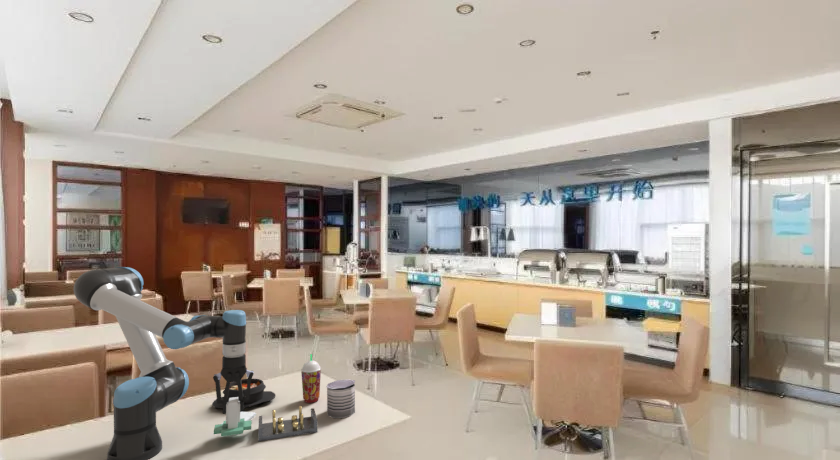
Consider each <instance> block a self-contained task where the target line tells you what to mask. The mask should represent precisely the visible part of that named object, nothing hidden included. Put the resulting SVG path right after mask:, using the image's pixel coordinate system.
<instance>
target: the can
mask: <svg viewBox="0 0 840 460" xmlns="http://www.w3.org/2000/svg"><path fill="white" fill-rule="evenodd" d="M355 383H356V380H354V379H349V378H346V379H337V380H334V381H332V382H329V383H327V384H326V390H327V391H326V398H327V399H326V406H327V407H326V409H327V410H326V413H327V417H330V418H333V419H344V418H349V417H351V416H353V414H355V413H356V385H355Z"/></svg>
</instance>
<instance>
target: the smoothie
mask: <svg viewBox="0 0 840 460" xmlns="http://www.w3.org/2000/svg"><path fill="white" fill-rule="evenodd" d="M309 354H310V355H309V356H310V357H309V358H310V359H309V360H308V361H307V360H306V361H305V363H304V364H303V366H302V367H301V370H300V372H301V383H302V384H301V386H302V399H303V400H304V402H305V403H306V404H312V403H316V402H317V401H319V398H320V392H321V391H320V390H321V378H322V377H321V373H322V367H321V366H320V364H319V362H318V361H316V360H313V354H311V353H309Z"/></svg>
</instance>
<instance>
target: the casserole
mask: <svg viewBox="0 0 840 460" xmlns="http://www.w3.org/2000/svg"><path fill="white" fill-rule="evenodd" d="M247 380H248V378H244V379H241V382H242V389H243V395H244V397H245V396H246V390H247ZM266 387H267V386H266V384H265V383H264V381H263V380H262V379H260V378H259V379H258V378H252V379H251V386H250V396H249V400H248V401H245V402H244V409H247V408H251V407H254V406H257V405H260V404H262V403H263V404H264V403H268V402H270V401H273V400H274V399H276V393H275V392H274V391H271V390H268V391H267V390H265V389H266ZM224 393H225V388H224V390H223V391H222V394H223V395H224ZM232 397H239V392H238V386H237V382H234V381H233V382H230V387H229V392H228V398H227V402H229V398H232ZM221 399H224V396H221ZM238 401H240V398H238ZM211 405H212V407H214V408H216V409H223V405H222V404H218V403H217V398H216V399H215V400H213V402H212V404H211Z"/></svg>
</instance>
